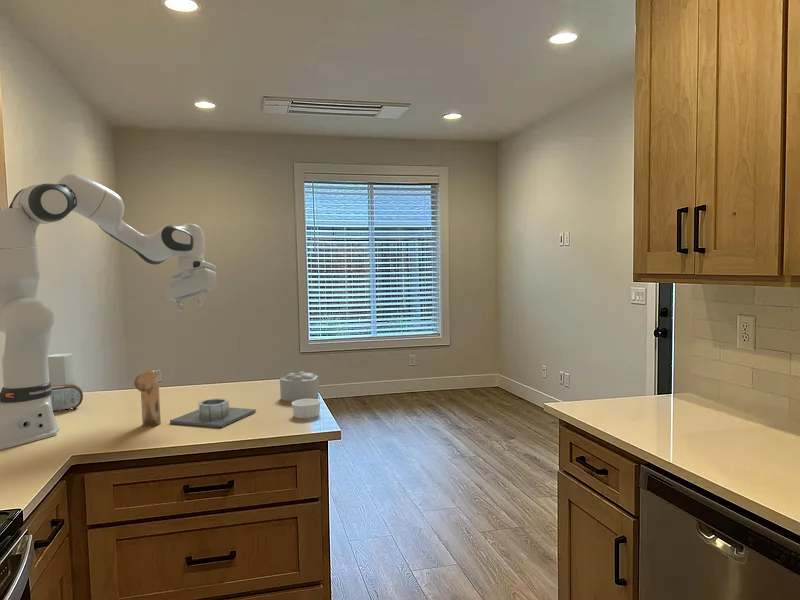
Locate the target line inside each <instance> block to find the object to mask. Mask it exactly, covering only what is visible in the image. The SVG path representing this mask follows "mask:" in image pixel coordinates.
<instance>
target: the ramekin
mask: <svg viewBox="0 0 800 600" xmlns="http://www.w3.org/2000/svg"><path fill="white" fill-rule="evenodd" d="M320 406H321V400H320V399H319V398H317V399H300V400H296V401H293V402H291V407H292V413H293V414H292V415H293V416H294V418H296V419H301V420H304V419H313V418H316V417H318V416H320V408H321V407H320Z"/></svg>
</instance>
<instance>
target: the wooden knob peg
mask: <svg viewBox="0 0 800 600" xmlns="http://www.w3.org/2000/svg"><path fill="white" fill-rule="evenodd" d="M159 379H160V378H159V374H158V373H157V371H156V370H154V369H146V370H144V371H143V372H141V373H140V374H139V375H137V376H136V377H135V379H134V382H133V384H134V387H135V389H137V391H140V397H141V398H140V399H141V400H140V401H141V418H142V419H141V421H142V423H141V424H142V427H144V426H145V427H146V428H149V427H148V426H152V427H156V426H160V425H161V424H162V421H161V404H160V403H161V402H160V401H161V400H160V382H159Z"/></svg>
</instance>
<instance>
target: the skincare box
mask: <svg viewBox="0 0 800 600" xmlns="http://www.w3.org/2000/svg"><path fill="white" fill-rule="evenodd" d="M75 362H76V361H75V353H53V354H50V355H49V354H48V368H49V381H50V382H51V386H58V385H67V384H73V385H76V386H78V385H77V382H78V381H77V375H76V364H75Z"/></svg>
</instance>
